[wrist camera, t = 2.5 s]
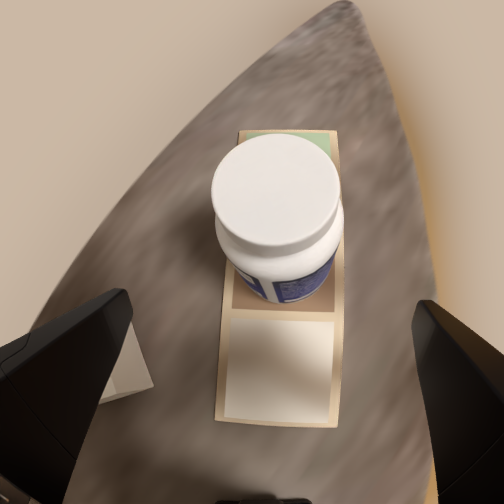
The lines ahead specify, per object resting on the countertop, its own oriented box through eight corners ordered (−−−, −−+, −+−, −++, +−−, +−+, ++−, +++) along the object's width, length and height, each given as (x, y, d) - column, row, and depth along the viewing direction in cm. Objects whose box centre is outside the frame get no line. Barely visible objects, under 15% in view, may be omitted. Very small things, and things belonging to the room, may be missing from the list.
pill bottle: (333, 225, 21) (357, 130, 11) (323, 311, 19) (351, 273, 10) (248, 214, 22) (215, 118, 12) (232, 297, 20) (178, 250, 11)
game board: (336, 426, 17) (337, 427, 17) (215, 419, 18) (214, 420, 18) (336, 132, 23) (336, 130, 23) (240, 132, 24) (239, 130, 24)
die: (154, 386, 19) (116, 394, 15) (99, 404, 19) (55, 411, 15) (130, 318, 21) (89, 308, 16) (79, 341, 21) (34, 335, 16)
